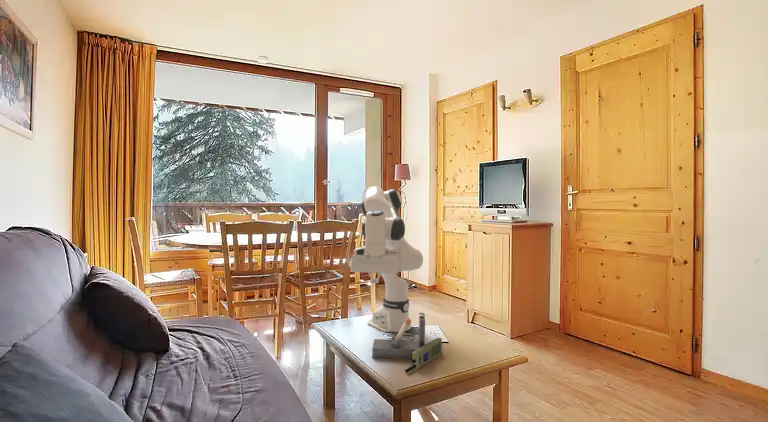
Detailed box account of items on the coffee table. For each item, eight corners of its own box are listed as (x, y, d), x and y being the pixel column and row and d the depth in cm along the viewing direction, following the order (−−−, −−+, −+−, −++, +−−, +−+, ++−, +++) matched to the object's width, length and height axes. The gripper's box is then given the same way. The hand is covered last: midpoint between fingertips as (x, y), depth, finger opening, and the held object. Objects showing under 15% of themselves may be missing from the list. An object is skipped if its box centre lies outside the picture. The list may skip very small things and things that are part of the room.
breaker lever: (392, 342, 167) (406, 318, 166) (392, 340, 169) (406, 316, 168) (398, 345, 166) (412, 321, 166) (398, 343, 169) (412, 319, 168)
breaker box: (372, 357, 164) (372, 317, 163) (374, 348, 174) (374, 310, 173) (424, 359, 162) (425, 318, 162) (423, 349, 172) (424, 311, 172)
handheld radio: (443, 354, 168) (410, 376, 148) (436, 352, 170) (402, 373, 150) (443, 338, 168) (410, 358, 148) (436, 337, 170) (402, 356, 150)
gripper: (400, 249, 170) (399, 281, 171) (352, 248, 171) (351, 280, 172) (400, 251, 164) (399, 285, 165) (350, 250, 165) (349, 284, 166)
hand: (374, 283), depth 169 cm, fingers closed
